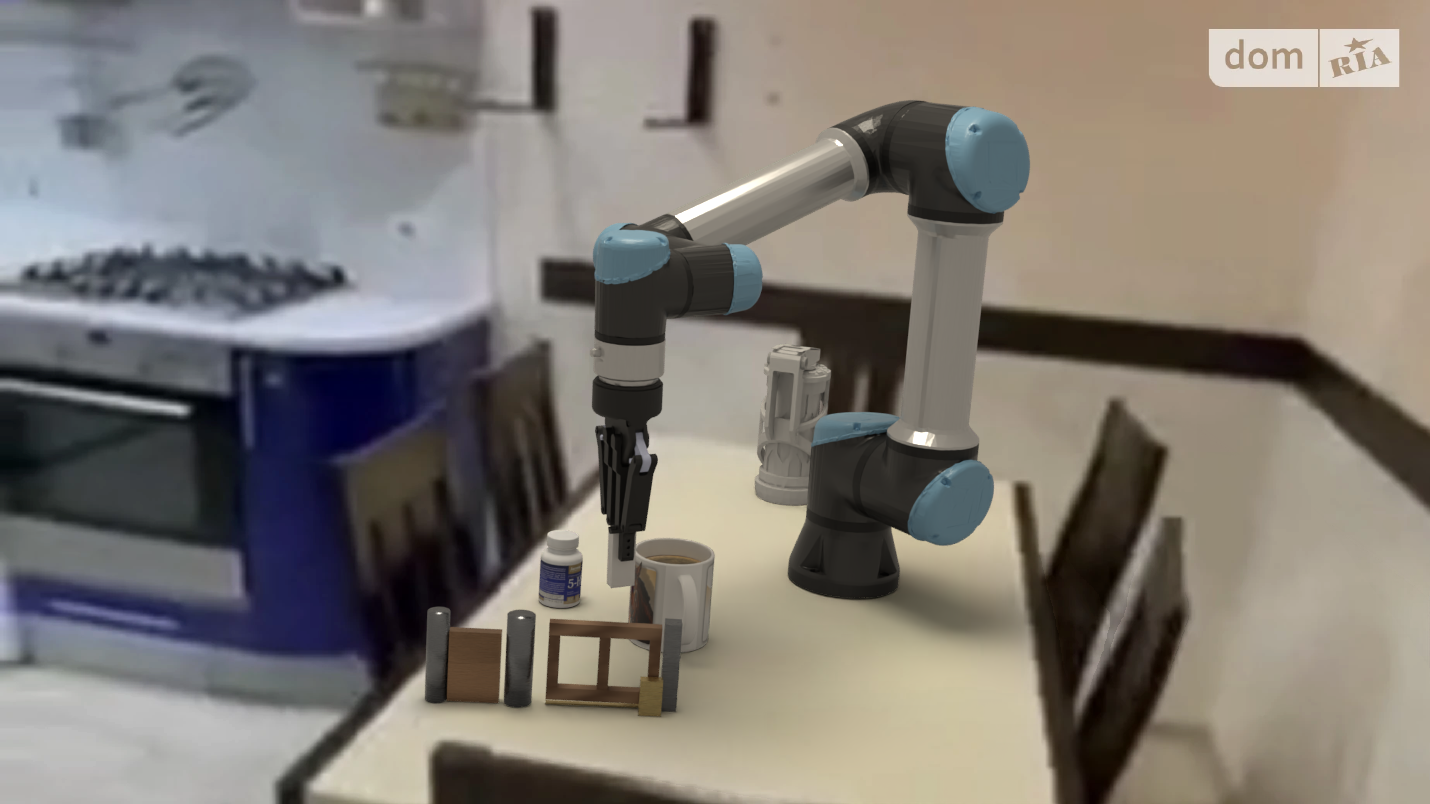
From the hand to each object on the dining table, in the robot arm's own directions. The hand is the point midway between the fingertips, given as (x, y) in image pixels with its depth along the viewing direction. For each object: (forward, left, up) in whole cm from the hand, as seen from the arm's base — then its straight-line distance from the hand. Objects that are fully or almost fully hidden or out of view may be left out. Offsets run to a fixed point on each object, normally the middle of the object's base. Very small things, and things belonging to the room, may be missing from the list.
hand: (620, 584), depth 175 cm
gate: (+1, +6, -11) cm, 13 cm away
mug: (-6, -13, -12) cm, 18 cm away
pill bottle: (+7, -24, -12) cm, 28 cm away
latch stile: (-5, +7, -12) cm, 14 cm away
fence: (+8, +6, -12) cm, 15 cm away
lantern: (-27, -73, -12) cm, 78 cm away
